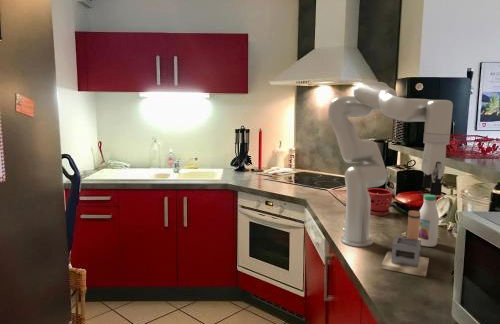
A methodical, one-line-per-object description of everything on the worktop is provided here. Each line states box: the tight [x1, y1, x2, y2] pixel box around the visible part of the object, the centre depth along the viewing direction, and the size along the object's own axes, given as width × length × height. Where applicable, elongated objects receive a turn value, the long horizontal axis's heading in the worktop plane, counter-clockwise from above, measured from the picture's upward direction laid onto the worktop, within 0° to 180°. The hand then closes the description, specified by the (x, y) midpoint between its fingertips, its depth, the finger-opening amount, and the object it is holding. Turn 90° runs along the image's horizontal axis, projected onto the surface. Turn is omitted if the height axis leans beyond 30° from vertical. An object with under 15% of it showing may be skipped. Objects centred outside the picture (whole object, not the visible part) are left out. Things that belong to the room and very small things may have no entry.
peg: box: [406, 210, 420, 240], centre depth 150 cm, size 4×4×16 cm
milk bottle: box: [418, 193, 440, 247], centre depth 161 cm, size 8×8×20 cm
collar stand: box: [380, 236, 430, 277], centre depth 139 cm, size 14×14×8 cm
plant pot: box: [367, 187, 393, 216], centre depth 206 cm, size 13×13×12 cm
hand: (431, 191), depth 131 cm, fingers open, 9 cm apart
